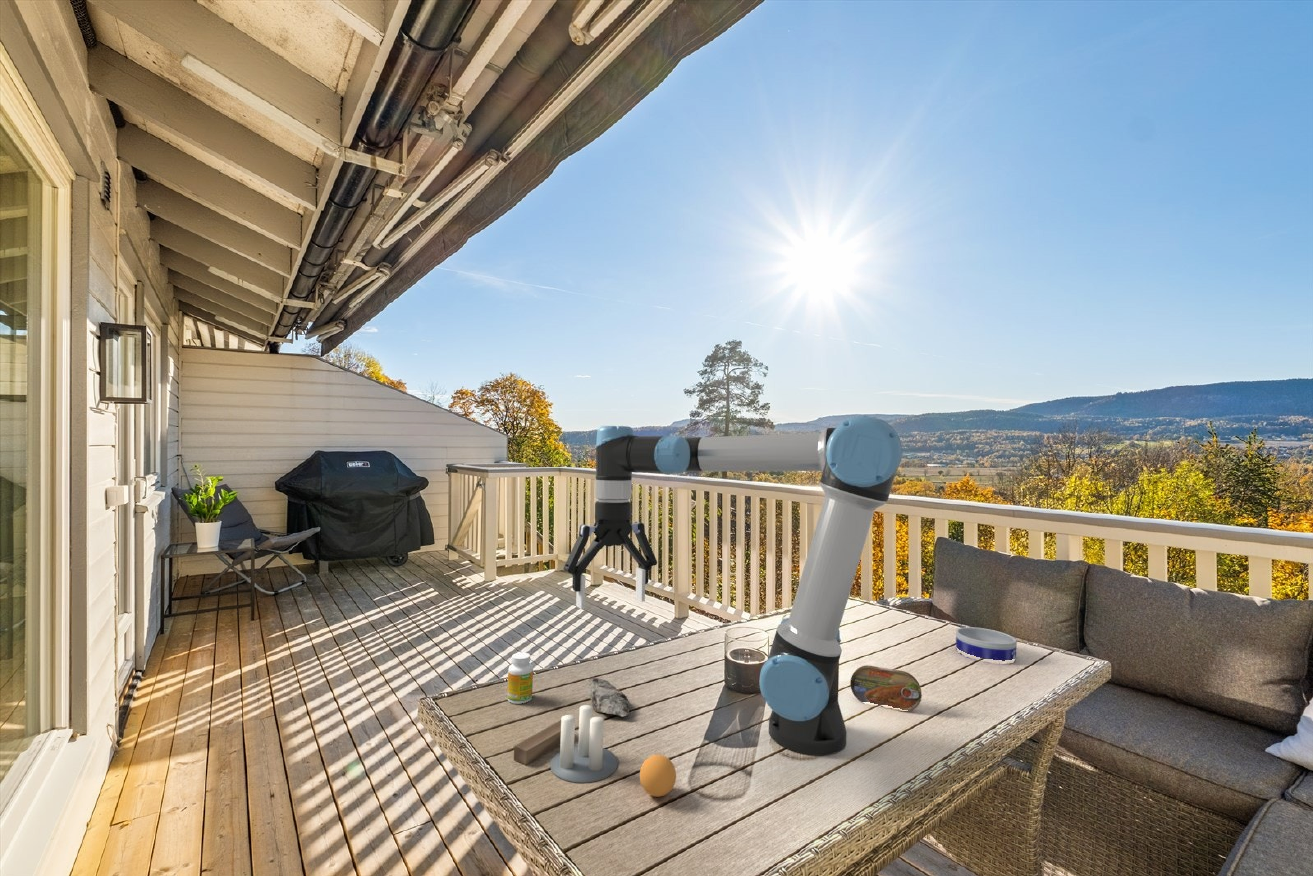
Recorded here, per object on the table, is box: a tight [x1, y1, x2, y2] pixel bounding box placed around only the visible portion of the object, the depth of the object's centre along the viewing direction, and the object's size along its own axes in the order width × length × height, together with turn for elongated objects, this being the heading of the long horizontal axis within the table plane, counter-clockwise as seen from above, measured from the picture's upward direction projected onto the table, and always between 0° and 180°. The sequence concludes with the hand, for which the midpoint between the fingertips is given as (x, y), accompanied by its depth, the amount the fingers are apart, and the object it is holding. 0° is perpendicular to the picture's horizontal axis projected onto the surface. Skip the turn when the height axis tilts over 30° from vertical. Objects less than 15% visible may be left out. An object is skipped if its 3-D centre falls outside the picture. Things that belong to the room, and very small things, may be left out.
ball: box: [639, 754, 677, 798], centre depth 96 cm, size 6×6×6 cm
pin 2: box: [577, 704, 594, 757], centre depth 108 cm, size 2×2×8 cm
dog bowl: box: [955, 626, 1018, 661], centre depth 169 cm, size 15×15×6 cm
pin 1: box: [559, 714, 576, 769], centre depth 103 cm, size 2×2×8 cm
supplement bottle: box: [506, 652, 534, 705], centre depth 130 cm, size 5×5×10 cm
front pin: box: [589, 716, 605, 771], centre depth 103 cm, size 2×2×8 cm
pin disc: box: [549, 745, 619, 784], centre depth 104 cm, size 12×12×1 cm
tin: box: [849, 664, 923, 712], centre depth 133 cm, size 15×3×8 cm, turn 65°
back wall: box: [513, 719, 561, 766], centre depth 110 cm, size 3×13×2 cm, turn 147°
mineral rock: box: [587, 677, 630, 717], centre depth 128 cm, size 15×8×4 cm, turn 15°
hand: (611, 603), depth 120 cm, fingers open, 13 cm apart
